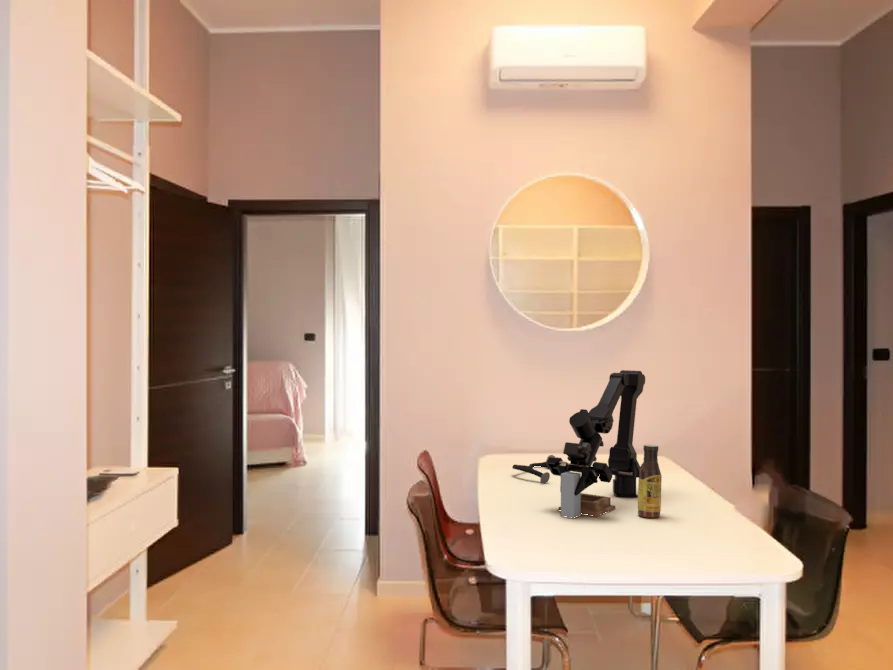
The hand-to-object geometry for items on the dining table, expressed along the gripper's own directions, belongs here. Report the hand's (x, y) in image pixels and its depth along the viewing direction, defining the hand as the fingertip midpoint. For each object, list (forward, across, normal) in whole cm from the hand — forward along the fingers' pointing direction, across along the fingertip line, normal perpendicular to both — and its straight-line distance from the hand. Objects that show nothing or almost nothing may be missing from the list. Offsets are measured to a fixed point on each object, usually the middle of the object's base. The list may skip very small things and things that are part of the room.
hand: (568, 493), depth 216 cm
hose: (-30, -39, +40) cm, 63 cm away
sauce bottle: (-6, +17, +16) cm, 24 cm away
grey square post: (+4, 0, +6) cm, 7 cm away
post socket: (-3, 0, +12) cm, 13 cm away
